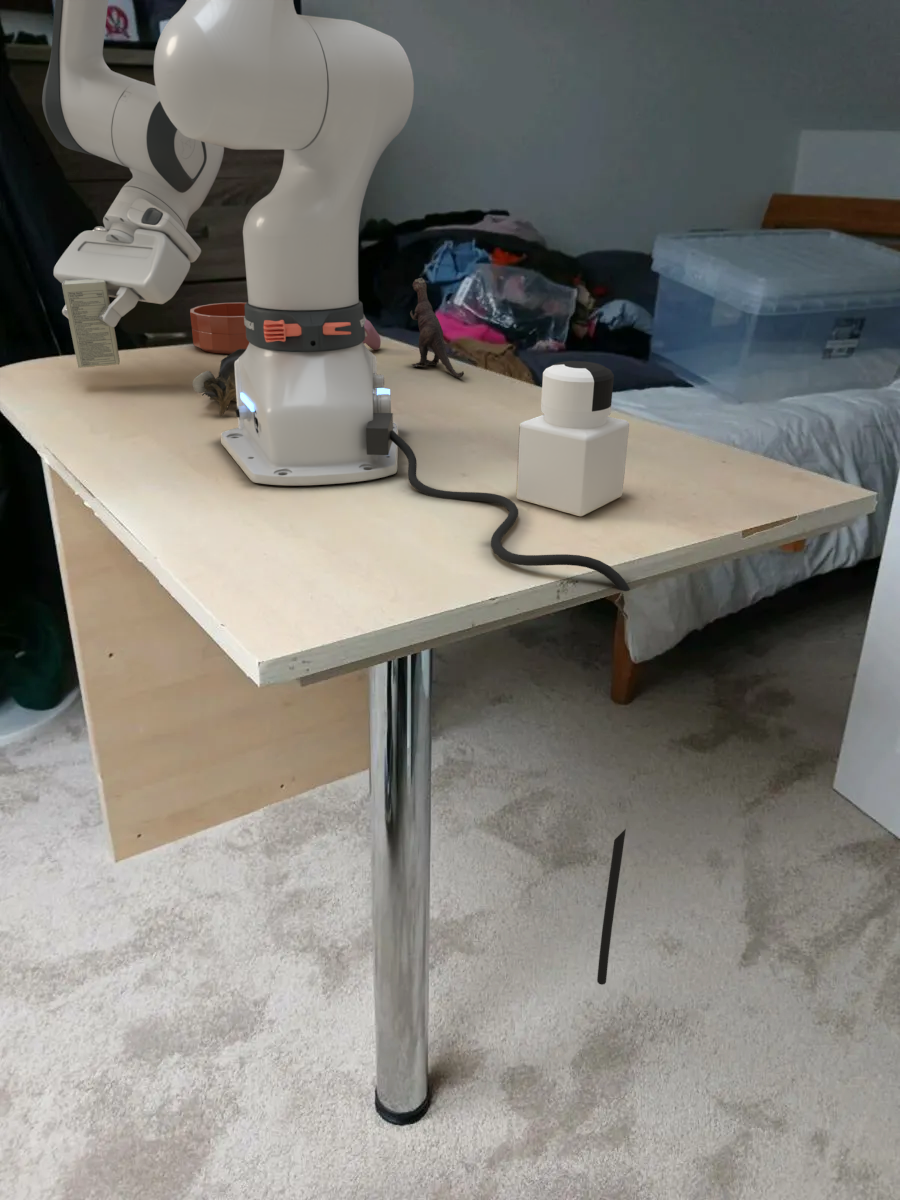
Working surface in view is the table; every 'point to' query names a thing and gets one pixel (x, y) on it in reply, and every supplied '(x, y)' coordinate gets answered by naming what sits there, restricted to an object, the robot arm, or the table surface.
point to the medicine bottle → (573, 442)
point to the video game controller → (371, 336)
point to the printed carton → (90, 323)
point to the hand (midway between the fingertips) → (87, 320)
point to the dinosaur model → (430, 331)
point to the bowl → (219, 327)
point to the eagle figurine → (220, 382)
